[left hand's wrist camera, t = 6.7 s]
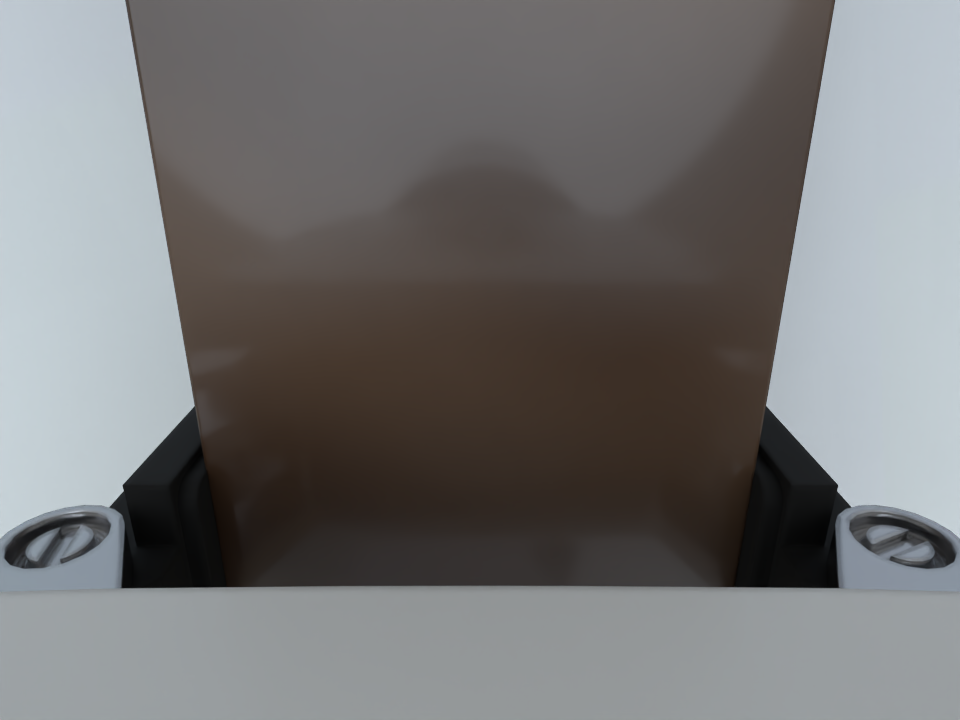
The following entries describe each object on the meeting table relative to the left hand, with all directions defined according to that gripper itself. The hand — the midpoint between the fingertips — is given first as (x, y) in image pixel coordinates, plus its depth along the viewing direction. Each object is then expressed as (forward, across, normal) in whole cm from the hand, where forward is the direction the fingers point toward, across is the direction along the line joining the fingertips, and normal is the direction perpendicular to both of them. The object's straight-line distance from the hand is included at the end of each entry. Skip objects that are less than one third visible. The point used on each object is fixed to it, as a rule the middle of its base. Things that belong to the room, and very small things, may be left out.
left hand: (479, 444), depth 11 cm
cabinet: (+7, 0, -6) cm, 9 cm away
